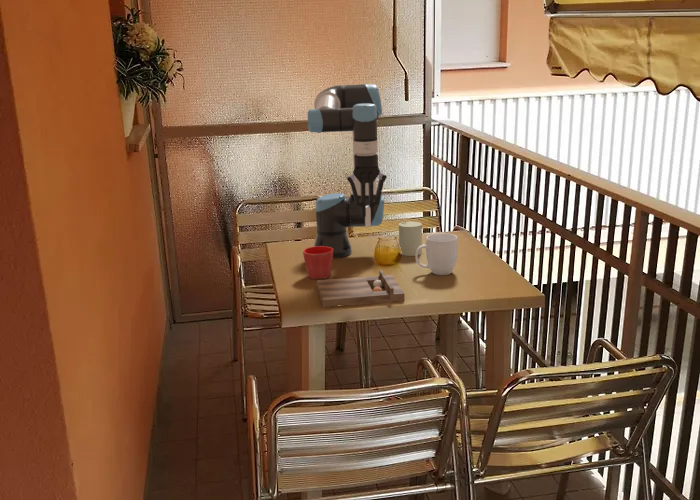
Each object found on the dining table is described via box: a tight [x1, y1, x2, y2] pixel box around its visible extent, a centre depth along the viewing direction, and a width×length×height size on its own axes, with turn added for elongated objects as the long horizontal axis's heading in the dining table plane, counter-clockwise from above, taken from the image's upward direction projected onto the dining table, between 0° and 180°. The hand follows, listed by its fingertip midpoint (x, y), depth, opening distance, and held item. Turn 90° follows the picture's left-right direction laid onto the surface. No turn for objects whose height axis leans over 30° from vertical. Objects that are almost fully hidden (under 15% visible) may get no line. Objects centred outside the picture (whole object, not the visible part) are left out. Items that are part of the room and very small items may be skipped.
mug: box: [414, 232, 459, 276], centre depth 256 cm, size 15×11×13 cm
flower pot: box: [302, 246, 334, 280], centre depth 258 cm, size 11×11×10 cm
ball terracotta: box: [372, 287, 383, 292], centre depth 235 cm, size 3×3×3 cm
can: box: [398, 220, 423, 257], centre depth 282 cm, size 9×9×12 cm
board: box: [316, 269, 406, 308], centre depth 238 cm, size 20×26×4 cm
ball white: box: [373, 280, 383, 289], centre depth 242 cm, size 3×3×3 cm
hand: (368, 225), depth 235 cm, fingers closed
